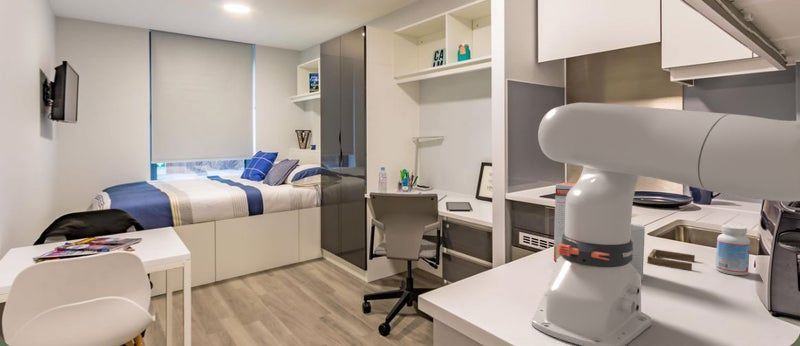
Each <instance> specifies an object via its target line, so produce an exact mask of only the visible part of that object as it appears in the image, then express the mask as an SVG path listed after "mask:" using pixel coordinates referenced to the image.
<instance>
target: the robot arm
mask: <svg viewBox="0 0 800 346" xmlns="http://www.w3.org/2000/svg"><path fill="white" fill-rule="evenodd" d="M537 139H538V143H539V147H540V149H541V152H542V153H543V154H544V155H545V156H546V157H547V158H548V159H550V160H551V161H555V162H558V163H563V164H567V165H572V166H579V167H583V168H582V171H581V174H580V176H579V178H578V180H577V181H576V182H575V183H576V184H575V185H574V186H573V187H572V188H571V189H570V190H569V192H568V193H567V196H566V205H565V233H564V234H563V235H562V240H561V244H559V247H558V253H559V255H561V257H559V258H558V259H557V260H556V261H555V262H556V264H555V266H554V269H553V272H552V274H551V278H550V281H549V283H548V286H547V287H548V288H547V290H546V291H545V292H544V293H543V295H542V297H541V299H540V302H539V303H538V306H537V307H536V310H535V312H534V314H533V316H532V319H531V326H532V327H534V328H535V329H537V330H538V331H540V332H542V333H544V334H546V335H549V336H551V337H554V338H557V339H559V340H561V341H565V342H567V343H568V342H569V343H571V344H575V345H579V346H626V345H628V344H629V343H630V342H632V340H634V339H636V338H637V337H638V336H639V335H641V334H642V333H643V332H644V331H645V330H646V329H648V328H649V327H650V326H652V324H653V323H652V316H649V315H648V314H646V313H644V312H643V311H642V281H641V275H640V274H639V273H638V272H637V271H636V270H635V269H634V267H633V266H632V264H631V261H632V256H633V242H632V240H631V239H630V234H631V224H632V214H633V204H634V203H633V202H634V198H635V197H634V196H635V193H636V189H637V185H638V182H639V180H640V177H646V178H652V179H656V180H662V181H665V182H670V183H674V184H678V185H682V186H683V185H684V186H686V187H691V188H695V189H699V190H703V191H708V192H712V193H716V194H717V193H719V194H722V195H727V196H732V197H733V196H734V197H738V198H739V197H740V198H745V199H754V200H763V201H773V202H787V203H789V202H792V203H793V202H800V119H799V120H780V119H771V118H766V117H760V116H754V115H753V116H752V115H745V114H735V113H734V114H733V113H721V112H712V111H711V112H709V111H702V110H700V111H699V110H687V109H686V110H685V109H673V108H660V107H658V108H657V107H649V106H648V107H644V106H635V105H632V104H622V103H620V104H618V103H601V102H600V103H598V102H574V103H569V104H568V103H567V104H564V105H560V106H557V107H553V108H551V109H550V110H549V111H547V113H545V114H544V116H543V117H542V119H541V121H540V123H539V127H538V131H537Z"/></svg>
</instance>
